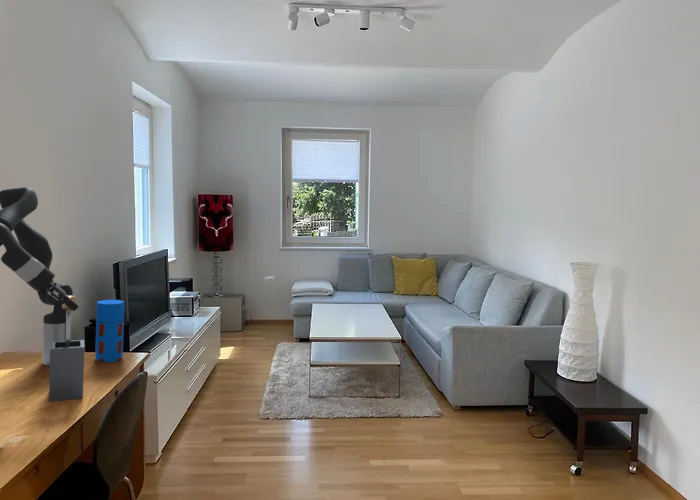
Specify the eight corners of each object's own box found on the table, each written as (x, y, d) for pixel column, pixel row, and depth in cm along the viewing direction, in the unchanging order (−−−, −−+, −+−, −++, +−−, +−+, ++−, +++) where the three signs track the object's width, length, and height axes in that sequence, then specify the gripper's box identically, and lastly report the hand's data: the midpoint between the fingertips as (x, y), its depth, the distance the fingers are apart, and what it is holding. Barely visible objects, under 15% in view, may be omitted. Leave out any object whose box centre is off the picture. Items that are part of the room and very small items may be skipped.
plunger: (56, 366, 171) (58, 295, 169) (78, 365, 174) (80, 294, 172) (55, 372, 165) (57, 298, 164) (77, 370, 168) (80, 298, 167)
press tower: (50, 391, 172) (51, 341, 171) (82, 388, 177) (84, 339, 176) (48, 401, 164) (50, 349, 162) (82, 398, 168) (84, 347, 167)
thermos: (111, 363, 206) (113, 305, 204) (89, 360, 208) (90, 302, 207) (127, 356, 217) (129, 301, 215) (106, 353, 219) (108, 298, 217)
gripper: (24, 278, 166) (64, 311, 174) (25, 285, 154) (68, 320, 162) (42, 263, 169) (81, 296, 177) (45, 268, 157) (87, 303, 165)
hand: (75, 307), depth 169 cm, fingers closed on plunger, 4 cm apart
